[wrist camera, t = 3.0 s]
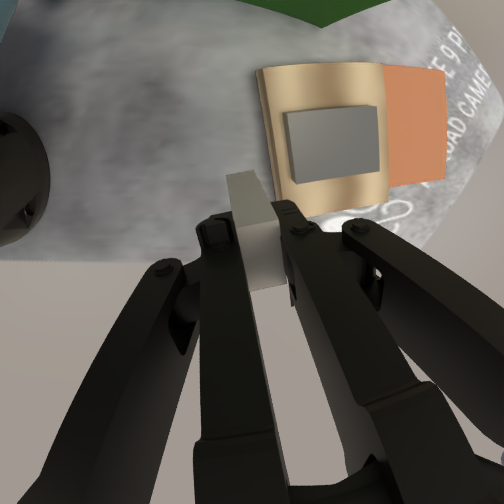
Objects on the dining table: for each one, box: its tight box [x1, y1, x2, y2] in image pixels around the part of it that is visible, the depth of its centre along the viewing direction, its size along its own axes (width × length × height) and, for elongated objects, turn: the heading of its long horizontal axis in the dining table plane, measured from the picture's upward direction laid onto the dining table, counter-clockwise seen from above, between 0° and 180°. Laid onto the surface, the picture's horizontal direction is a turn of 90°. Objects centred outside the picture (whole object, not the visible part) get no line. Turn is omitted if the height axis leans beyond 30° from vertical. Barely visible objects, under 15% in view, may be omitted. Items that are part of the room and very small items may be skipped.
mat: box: [382, 65, 447, 187], centre depth 28 cm, size 11×14×1 cm
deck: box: [255, 62, 389, 218], centre depth 26 cm, size 11×14×4 cm
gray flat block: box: [282, 105, 380, 185], centre depth 23 cm, size 8×6×2 cm
